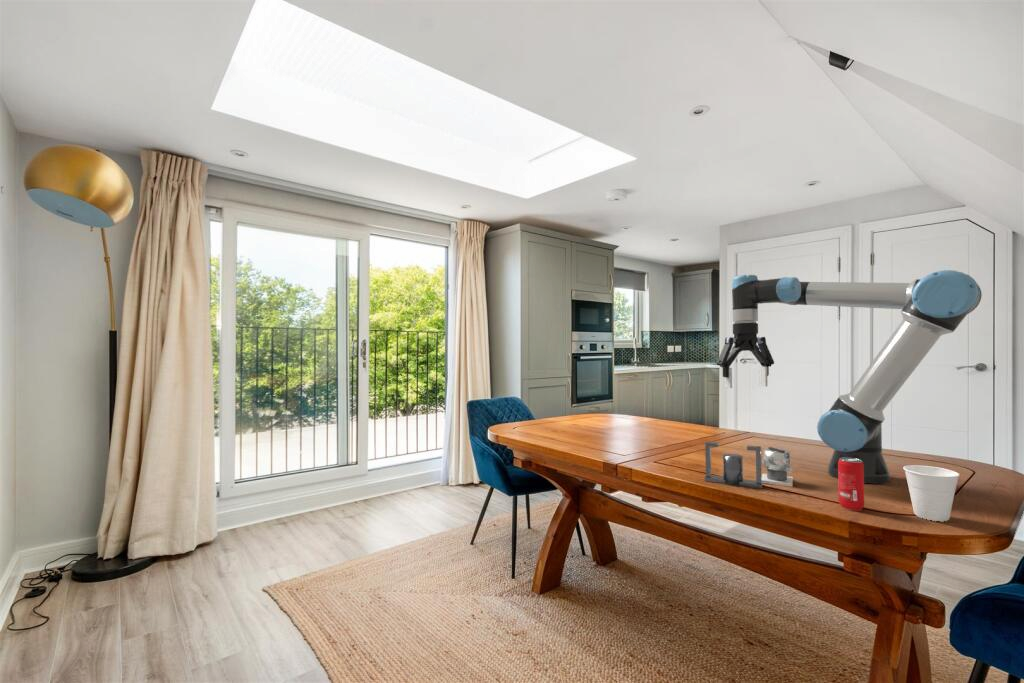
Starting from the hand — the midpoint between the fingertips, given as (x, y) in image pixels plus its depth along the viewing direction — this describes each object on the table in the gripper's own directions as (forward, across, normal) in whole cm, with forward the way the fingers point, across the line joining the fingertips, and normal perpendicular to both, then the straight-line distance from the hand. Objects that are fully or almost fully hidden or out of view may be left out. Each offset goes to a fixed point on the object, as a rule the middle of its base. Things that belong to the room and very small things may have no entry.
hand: (746, 386), depth 154 cm
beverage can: (+27, +2, +38) cm, 47 cm away
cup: (+27, -10, +48) cm, 56 cm away
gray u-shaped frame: (+27, +16, +12) cm, 33 cm away
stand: (+27, +2, +15) cm, 31 cm away
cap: (+23, +2, +15) cm, 27 cm away
